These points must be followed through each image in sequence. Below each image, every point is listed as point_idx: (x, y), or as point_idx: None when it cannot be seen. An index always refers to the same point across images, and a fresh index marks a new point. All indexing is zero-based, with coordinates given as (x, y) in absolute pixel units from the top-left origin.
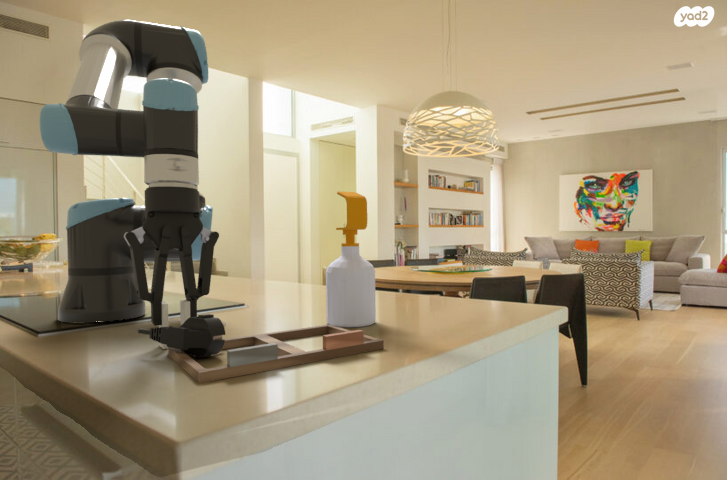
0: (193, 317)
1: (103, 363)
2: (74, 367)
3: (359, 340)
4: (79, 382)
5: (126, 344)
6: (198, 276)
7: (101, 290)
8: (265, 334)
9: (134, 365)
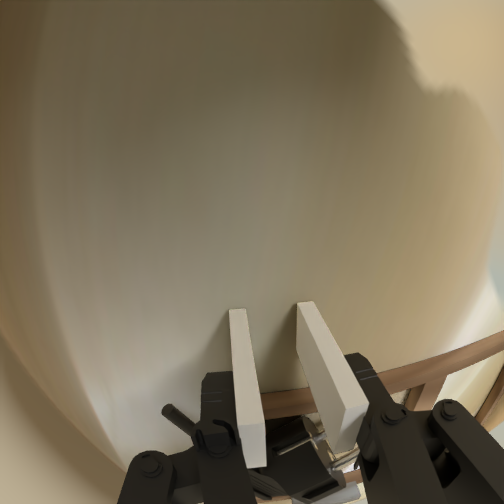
0: (297, 495)
1: (104, 382)
2: (60, 376)
3: None
4: (102, 446)
5: (131, 197)
6: (473, 466)
7: None
8: (448, 372)
9: (167, 421)
